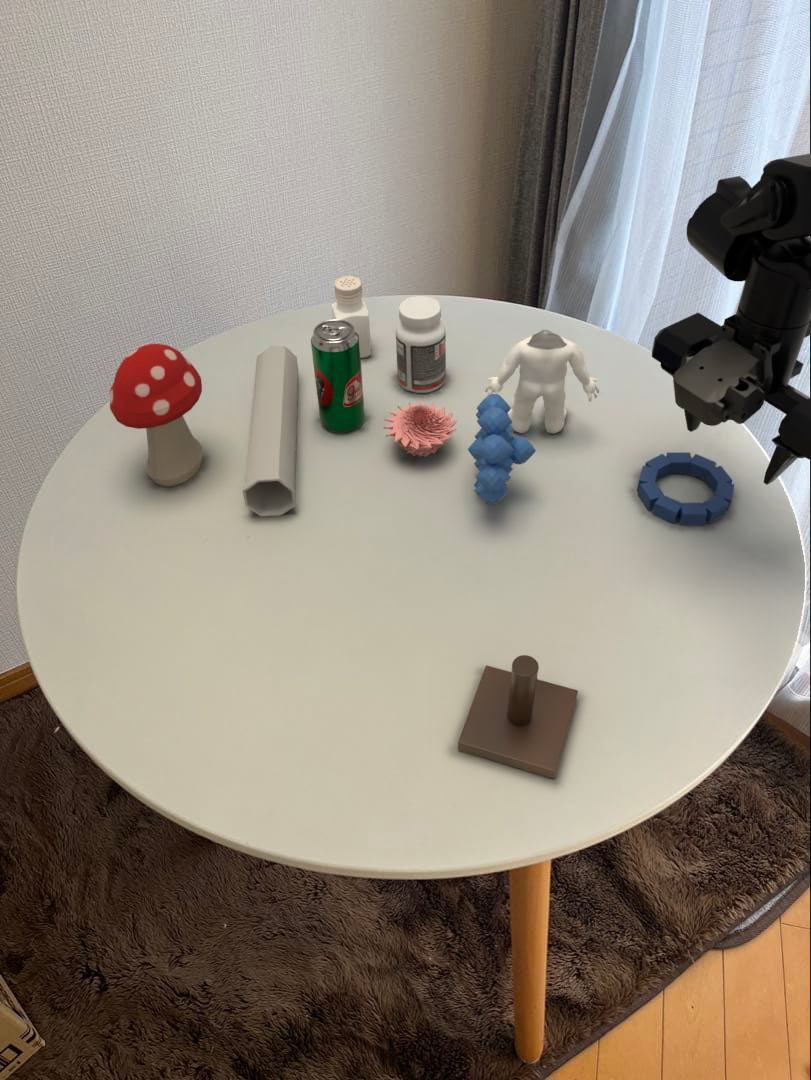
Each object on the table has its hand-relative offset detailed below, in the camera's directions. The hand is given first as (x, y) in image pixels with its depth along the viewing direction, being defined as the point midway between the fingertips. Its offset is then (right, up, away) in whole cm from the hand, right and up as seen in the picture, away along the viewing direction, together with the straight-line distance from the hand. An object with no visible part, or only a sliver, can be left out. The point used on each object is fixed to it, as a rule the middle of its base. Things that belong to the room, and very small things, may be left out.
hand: (729, 455), depth 84 cm
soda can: (-37, +5, +18) cm, 42 cm away
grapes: (-21, -3, +9) cm, 23 cm away
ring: (-2, -3, +8) cm, 9 cm away
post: (-21, -23, -10) cm, 33 cm away
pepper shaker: (-37, +15, +27) cm, 48 cm away
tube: (-45, +3, +16) cm, 48 cm away
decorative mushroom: (-55, 0, +13) cm, 57 cm away
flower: (-29, +2, +14) cm, 32 cm away
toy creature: (-16, +5, +16) cm, 23 cm away
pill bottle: (-28, +11, +23) cm, 38 cm away
